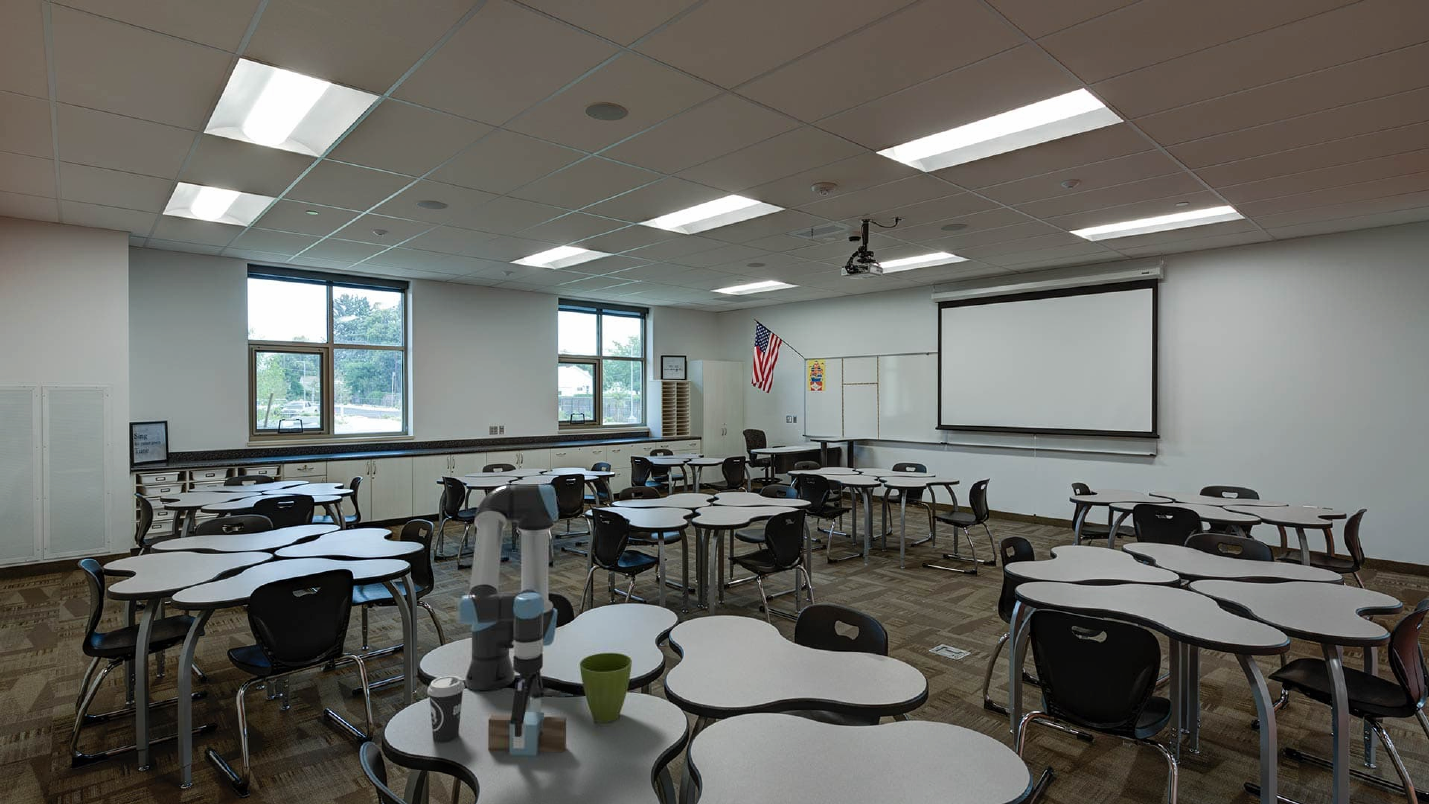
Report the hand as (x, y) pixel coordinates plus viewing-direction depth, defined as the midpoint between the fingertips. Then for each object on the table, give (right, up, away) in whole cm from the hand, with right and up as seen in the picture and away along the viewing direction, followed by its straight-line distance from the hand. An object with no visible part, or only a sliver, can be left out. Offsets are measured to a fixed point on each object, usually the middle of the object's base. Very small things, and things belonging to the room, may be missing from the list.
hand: (527, 734), depth 180 cm
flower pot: (+18, -4, +18) cm, 26 cm away
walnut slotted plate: (0, -4, 0) cm, 4 cm away
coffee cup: (-24, -4, +6) cm, 25 cm away
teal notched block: (0, -4, 0) cm, 4 cm away
